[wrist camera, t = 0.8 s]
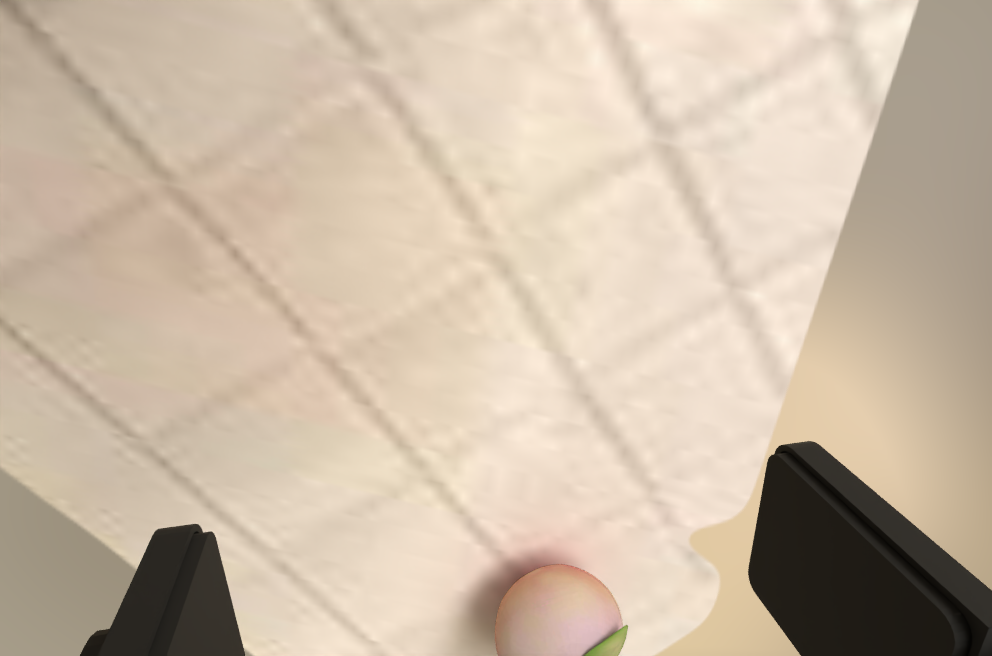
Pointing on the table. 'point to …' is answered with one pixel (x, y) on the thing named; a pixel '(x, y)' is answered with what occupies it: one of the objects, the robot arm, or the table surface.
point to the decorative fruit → (559, 616)
